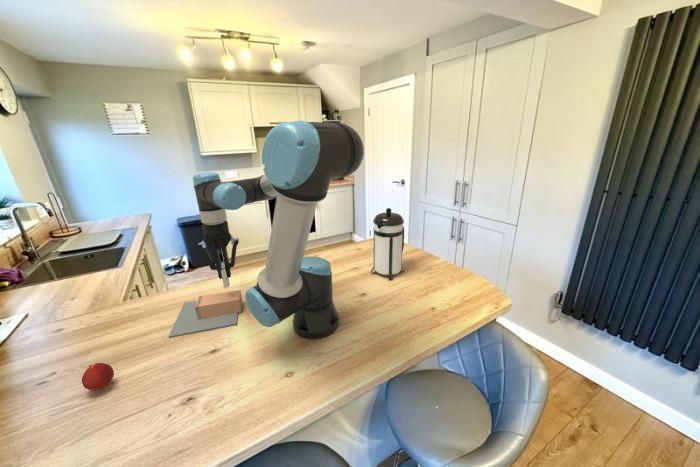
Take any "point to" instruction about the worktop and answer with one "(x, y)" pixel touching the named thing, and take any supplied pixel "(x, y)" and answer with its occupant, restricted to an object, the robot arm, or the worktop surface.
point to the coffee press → (388, 243)
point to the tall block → (218, 304)
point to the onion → (97, 376)
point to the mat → (199, 321)
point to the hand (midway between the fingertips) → (226, 285)
